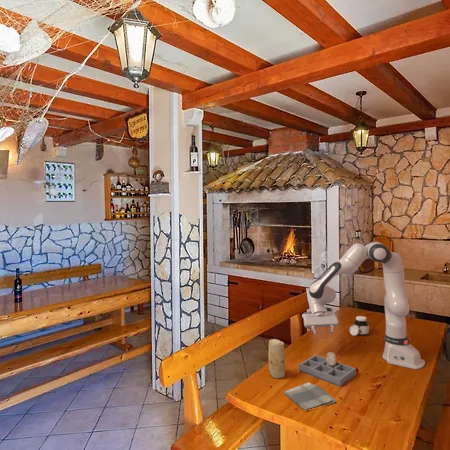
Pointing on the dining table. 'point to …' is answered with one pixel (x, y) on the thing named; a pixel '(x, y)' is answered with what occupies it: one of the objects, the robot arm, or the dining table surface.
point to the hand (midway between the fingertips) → (323, 333)
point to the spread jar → (359, 326)
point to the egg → (331, 360)
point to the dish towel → (309, 396)
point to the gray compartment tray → (327, 370)
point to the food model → (276, 358)
